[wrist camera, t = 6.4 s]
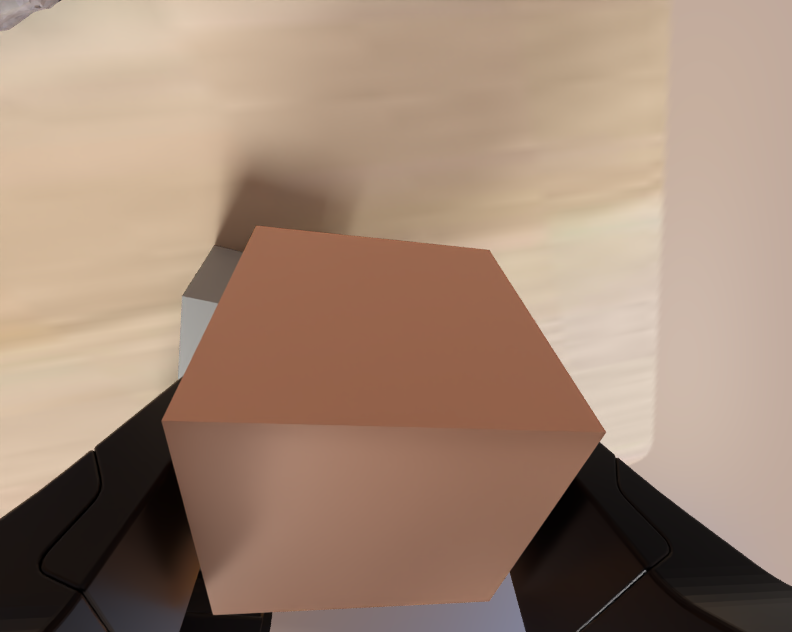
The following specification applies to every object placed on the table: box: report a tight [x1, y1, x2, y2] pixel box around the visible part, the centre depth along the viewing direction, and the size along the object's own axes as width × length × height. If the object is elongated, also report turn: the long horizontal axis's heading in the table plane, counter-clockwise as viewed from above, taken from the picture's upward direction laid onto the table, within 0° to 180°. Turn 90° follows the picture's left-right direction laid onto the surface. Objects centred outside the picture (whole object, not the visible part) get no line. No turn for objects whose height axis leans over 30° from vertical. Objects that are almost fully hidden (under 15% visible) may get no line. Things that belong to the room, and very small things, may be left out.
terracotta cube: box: [162, 226, 606, 615], centre depth 8 cm, size 5×5×5 cm
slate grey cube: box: [178, 245, 243, 380], centre depth 21 cm, size 5×5×5 cm
